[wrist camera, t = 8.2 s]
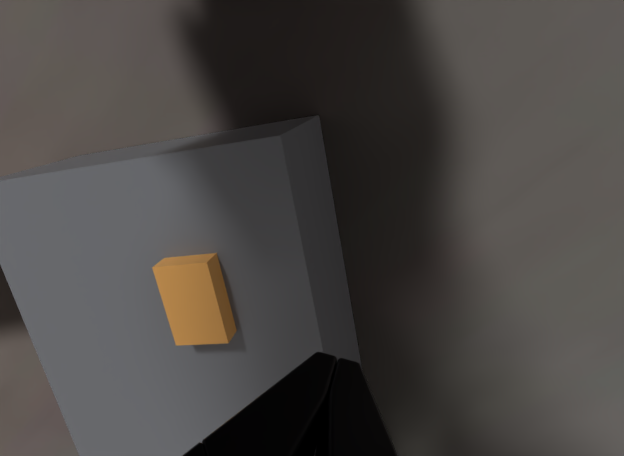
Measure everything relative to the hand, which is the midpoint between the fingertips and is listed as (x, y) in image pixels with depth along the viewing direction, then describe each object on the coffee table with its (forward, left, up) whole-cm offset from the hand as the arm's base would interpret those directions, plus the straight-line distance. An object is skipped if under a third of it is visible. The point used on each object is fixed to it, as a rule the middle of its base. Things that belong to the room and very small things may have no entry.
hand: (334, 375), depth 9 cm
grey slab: (+6, -8, -12) cm, 16 cm away
